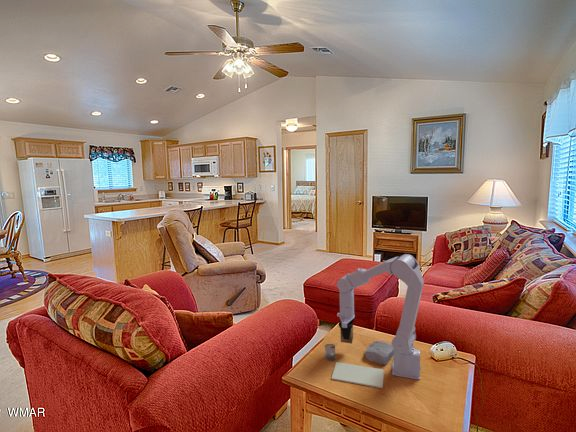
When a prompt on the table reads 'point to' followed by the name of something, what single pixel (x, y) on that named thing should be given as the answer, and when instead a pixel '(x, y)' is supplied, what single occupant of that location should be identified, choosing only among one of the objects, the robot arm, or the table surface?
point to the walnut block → (349, 337)
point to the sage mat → (358, 375)
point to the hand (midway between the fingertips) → (347, 335)
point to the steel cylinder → (330, 352)
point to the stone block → (379, 352)
